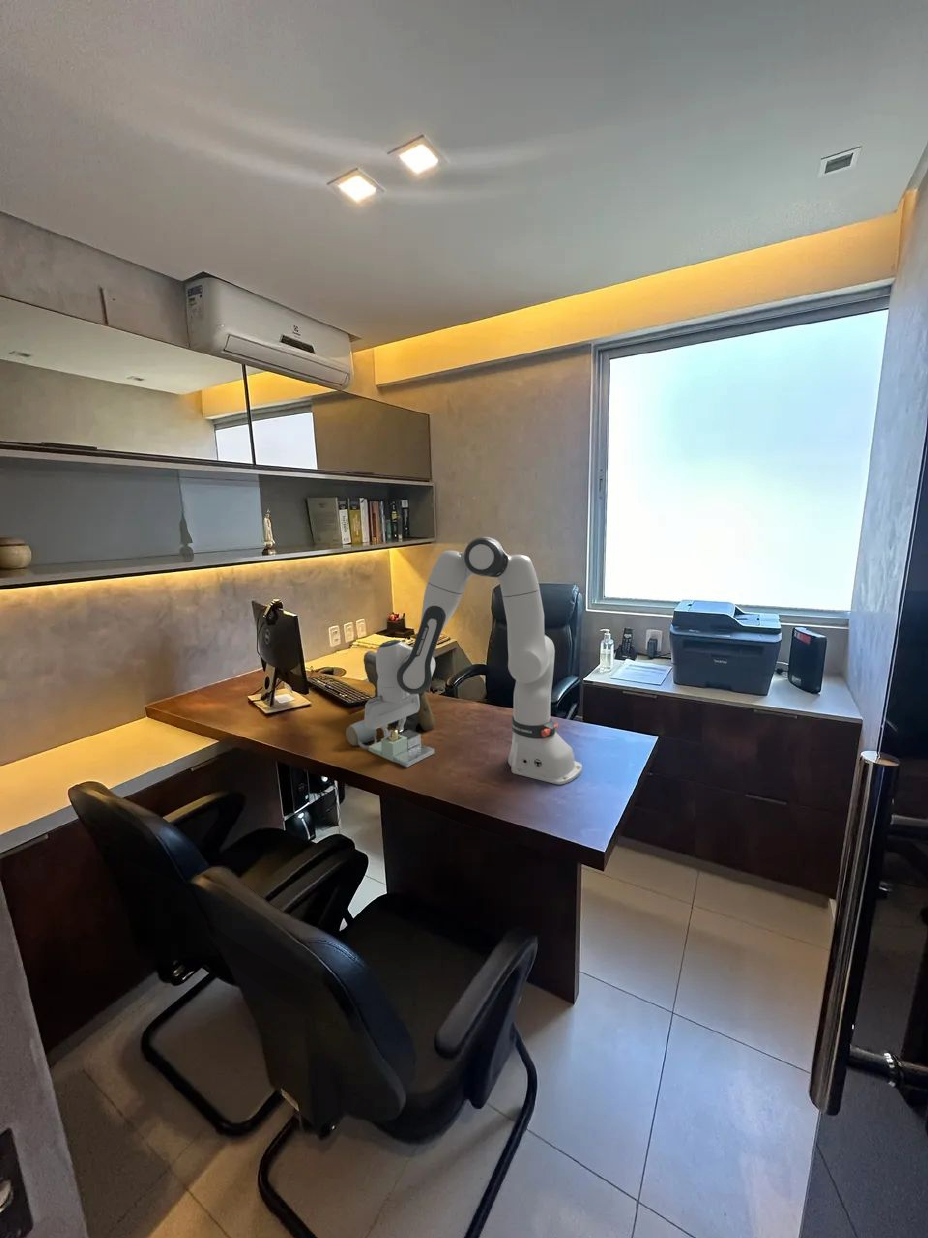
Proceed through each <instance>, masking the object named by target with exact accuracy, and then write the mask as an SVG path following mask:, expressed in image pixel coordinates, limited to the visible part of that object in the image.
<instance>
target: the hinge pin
mask: <svg viewBox="0 0 928 1238" xmlns="http://www.w3.org/2000/svg"><path fill="white" fill-rule="evenodd" d="M388 730H389V731H391V736H389V741H392V742H395V741H397V740H398V734H399V731H398V729H396V728H394V727H391V728H390V729H388Z"/></svg>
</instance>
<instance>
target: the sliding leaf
mask: <svg viewBox="0 0 928 1238" xmlns="http://www.w3.org/2000/svg"><path fill="white" fill-rule="evenodd" d="M398 734H399V735H402V736H404V737H407V751H406V752H403V753H401V754H399V755H397V756H395V757H394V762H393V763H396V764H398V765H401V766H403V767H405V768H409V767H411V766H412V765H414V764H417V763H418V762H420V761H422V760H425V759H426V758H428V757H430V756H432V755H434V754H435V748H433V747H431V746H428V745H425V744H423V743H422V739H421V737H422V735H421V733H418V732H417V731H416V732H413V731H411V730H407V731H405V732H399V733H398Z"/></svg>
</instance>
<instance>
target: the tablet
mask: <svg viewBox="0 0 928 1238" xmlns="http://www.w3.org/2000/svg"><path fill="white" fill-rule="evenodd" d="M376 653H377V652H375V651H373V650H369V651H367V652H366V653H364V656H363V659H362V660H363V665H364V671H365V674H366V677H367V679H368V682H369V683H370V684H372V685H373V686H374V688H375V689H374V696H373V698H372V699H374V698H376V697H378V692H377V680H378V674H377V671H376ZM418 695H419V701H420V708H419V711H418V712H417V713H414V714H412V715H409V716H407V717H406V721H405V723H404V725H403V728H404V730H403V731H401V732H400V733H403V732H405V731H407V730H411V731H413V732H416V733H417V729H416V728H417V726H418V724H419V725H420V727H421V728H422V730H424V731H426V732H432V731H433V730H434V729H435V716H434V714H433V712H432V708H431V705H430V702H429V699H428V695H427V693H426V691H424V692H423V693H420V694H418ZM369 700H370V699H368V700H367V702H368V701H369ZM367 702H366V703H367ZM399 720H400V719H399ZM399 720H397V721H395V722H392V723H390V724H388V726H390V727H391V728H396V726H397V725H398V724H399ZM396 729H397V728H396Z"/></svg>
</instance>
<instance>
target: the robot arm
mask: <svg viewBox="0 0 928 1238" xmlns="http://www.w3.org/2000/svg"><path fill="white" fill-rule="evenodd" d="M473 575H476V576H480V577H487V578H496V579H497V580H498V583H499V587H500V591H501V596H502V601H503V608H504V614H505V619H506V627H507V651H508V659H507V660H508V662H507V667H508V672H509V673H510V675H511V677H512V678H513V679H514V680H515V684H514V685H515V686H514V690H513V716H512V719H511V730H512V741H511V747H510V752H509V755H508V759H507V763H508V764H509V766H510V767H511V770H510V771H511V772H512V773H513V774H515V775H517V776H518V775H519V776H523V777H527V778H531V779H536V780H539V781H542V782H547V783H551V784H554V785H559V786H560V785H563V784H567V783H570V782H572V781H573V780H575V779H576V778H577V777H578V776H580V774H581V773H582V772H583V764H582V763H580V762H579V761H576V759H575V754H574V751H573V748H572V747H571V746H570V745H569V744H568V743H567V742H566V741H565V740H564V739H563V738H562V737H561V736H560V735H559V734H558V733H557V732H556V729H557V728H558V727H559V723H556V724H555V723H553V720H552V718H551V700H552V697H551V696H552V695H551V694H552V687H553V678H554V677H553V676H554V666H555V652H556V650H555V645H554V642H553V640H552V639H551V638H550V637H549V636H547V635H546V634H545V633H546V632H545V612H544V605H543V600H542V594H541V589H540V583H539V580H538V576H537V575H538V574H537V571H536V570H535V567H534V564H533V562H532V560H531V558H530V557H528V556H526V555H524V554H507V553H506V552H505V548H504V547H503V545H502V544H501V543H500V542H499V541H498V540H496V539H495V538H492V537H489V536H481V537H476V538H475V539H474V538H473V540H471V541H470V542H468V544H467V545H466V547H465V549H464V551H458V550H454V549H453V550H452V549H451V550H445V551H443V552H442V553H440V554H439V556H438V557H437V560H436V561H435V564H434V565H433V566H432V569H431V571H430V575H429V577H428V580H427V583H426V586H425V589H424V595H423V601H422V609H421V618H420V622H419V623H420V624H419V629H418V631H417V635H416V637H415V640H414V643H413V646H410V645H408V644H405V643H404V641H402V640H400V639H392V640H387V641H384V642H383V643H381V644H380V645H379V646H378V647H377V648H376V652H375V653H376V671H377V674H378V680H377V692H378V697H376V698H374V697H373V698H374V699H373V698H370V699H368V700H369V701H368V700H367V701H368V702H366V703H365V704H364V705H365V706H364V717H363V718H364V719H363V720H364V725H365V727H366V728H368V729H370V730H375V729H376V730H377V729H381V730H382V732H383V738H384V737H389V736H391V731H389V730H390V729H388V727H389V725H388V724H390V723H392V722H395V721H397V720H399V719H400V720H399V724H398V725H397V726H396V728H397V729H398V733H402V732H401V731H403V730H404V728H403V725H404V723H405V721H406V717H407V716H409V715H412V714H414V713H417V712H418V711H419V708H420V701H419V695H418V694H420V693H423V692H424V691H425V692H426V691H427V690H428V689H429V688H430V686H431V683H432V678H433V676H434V673H435V669H436V660H435V657H434V654H435V651H436V648H437V645H438V643H439V639H440V637H441V634H442V632H443V630H444V628H445V627H446V625H448V622H449V621H450V620H451V618H452V616H453V615H454V614H455V611H456V610H457V608H458V606H459V605H460V602H461V600H462V598H463V594H464V591H465V588H466V586H467V583H468V581H469V579H470V578H471V576H473Z"/></svg>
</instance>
